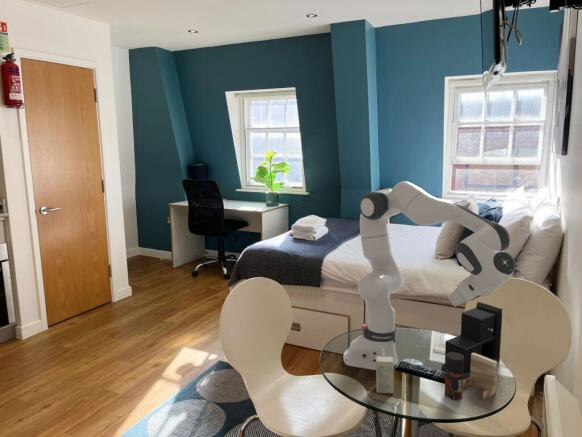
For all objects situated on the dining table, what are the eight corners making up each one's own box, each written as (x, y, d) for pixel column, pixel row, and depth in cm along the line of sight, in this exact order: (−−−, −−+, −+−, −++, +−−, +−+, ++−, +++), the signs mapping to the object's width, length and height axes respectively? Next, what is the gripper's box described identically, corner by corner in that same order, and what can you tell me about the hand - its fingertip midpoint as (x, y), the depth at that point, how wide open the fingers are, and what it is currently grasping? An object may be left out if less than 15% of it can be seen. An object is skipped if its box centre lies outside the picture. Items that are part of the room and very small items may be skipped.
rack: (484, 400, 154) (486, 368, 152) (460, 389, 161) (462, 358, 159) (495, 393, 158) (497, 361, 156) (471, 382, 165) (473, 352, 163)
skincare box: (393, 387, 163) (393, 356, 161) (393, 394, 159) (394, 362, 157) (375, 386, 164) (376, 355, 162) (375, 392, 160) (376, 360, 158)
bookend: (464, 381, 167) (467, 322, 163) (440, 369, 176) (442, 313, 172) (500, 363, 179) (503, 308, 175) (476, 353, 188) (479, 301, 184)
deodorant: (449, 389, 161) (451, 350, 159) (465, 395, 157) (467, 356, 154) (441, 395, 157) (443, 356, 155) (457, 402, 153) (459, 361, 150)
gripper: (501, 260, 151) (485, 275, 163) (453, 286, 146) (440, 299, 158) (514, 276, 148) (496, 290, 160) (465, 302, 143) (451, 315, 155)
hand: (468, 295), depth 159 cm, fingers open, 8 cm apart
